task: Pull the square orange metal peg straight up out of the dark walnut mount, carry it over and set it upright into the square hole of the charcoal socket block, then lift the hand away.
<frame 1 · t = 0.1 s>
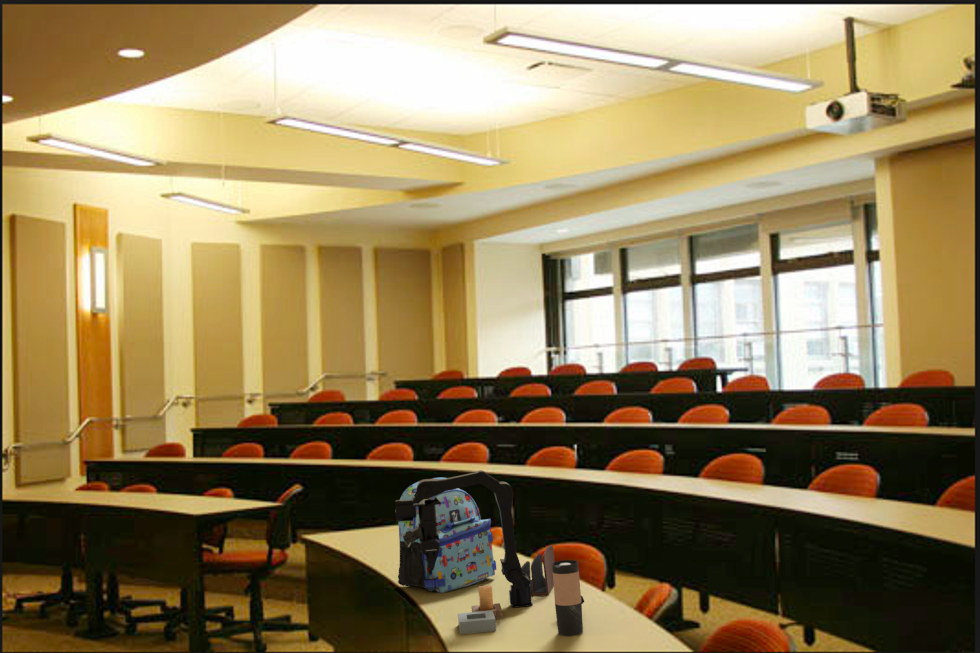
hand: (431, 567, 325), 15 cm above the table, fingers open, 9 cm apart
travel mug: (570, 633, 290), on the table
backpack: (449, 583, 368), on the table
socket: (477, 627, 303), on the table
mount: (487, 615, 316), on the table
letter holder: (538, 590, 348), on the table
controller: (573, 620, 304), on the table
peg: (487, 616, 316), resting in mount
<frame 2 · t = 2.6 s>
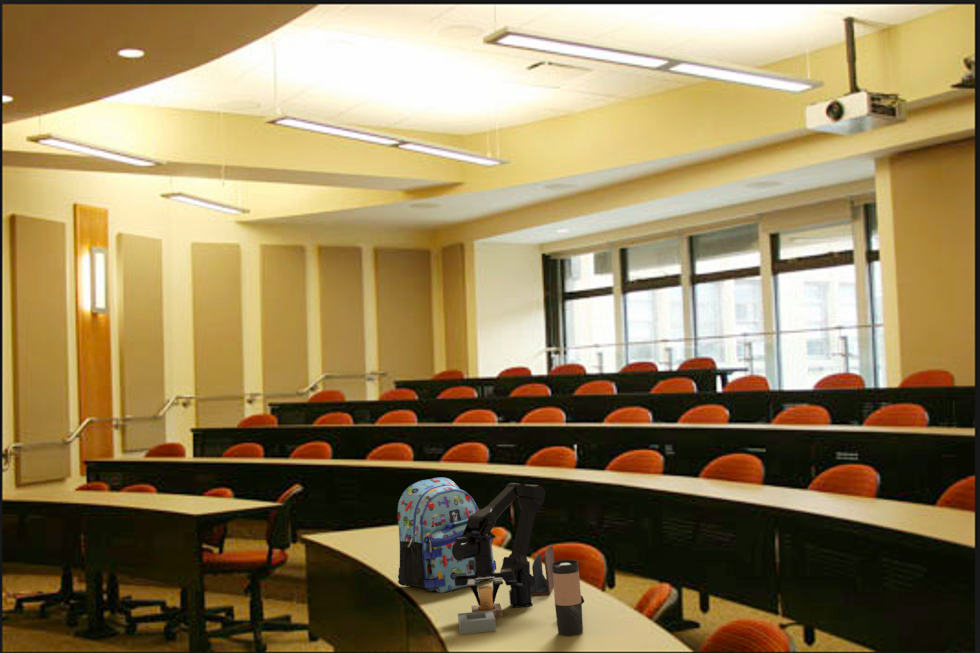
hand: (486, 604, 316), 4 cm above the table, fingers closed on peg, 4 cm apart
peg: (487, 616, 316), resting in mount, touching gripper
everything else where it was.
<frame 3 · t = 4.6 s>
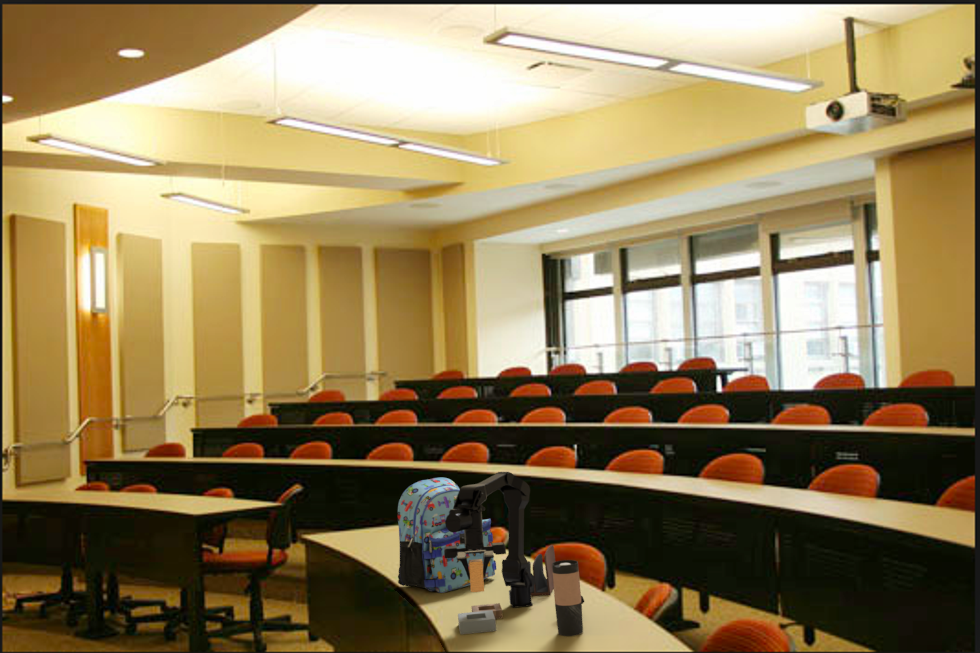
hand: (476, 578, 308), 14 cm above the table, fingers closed on peg, 4 cm apart
peg: (477, 590, 308), point 10 cm above the table, touching gripper
everything else where it was.
when the fingers open (4 cm above the table, at t = 7.0 s): peg stays where it is, resting in socket.
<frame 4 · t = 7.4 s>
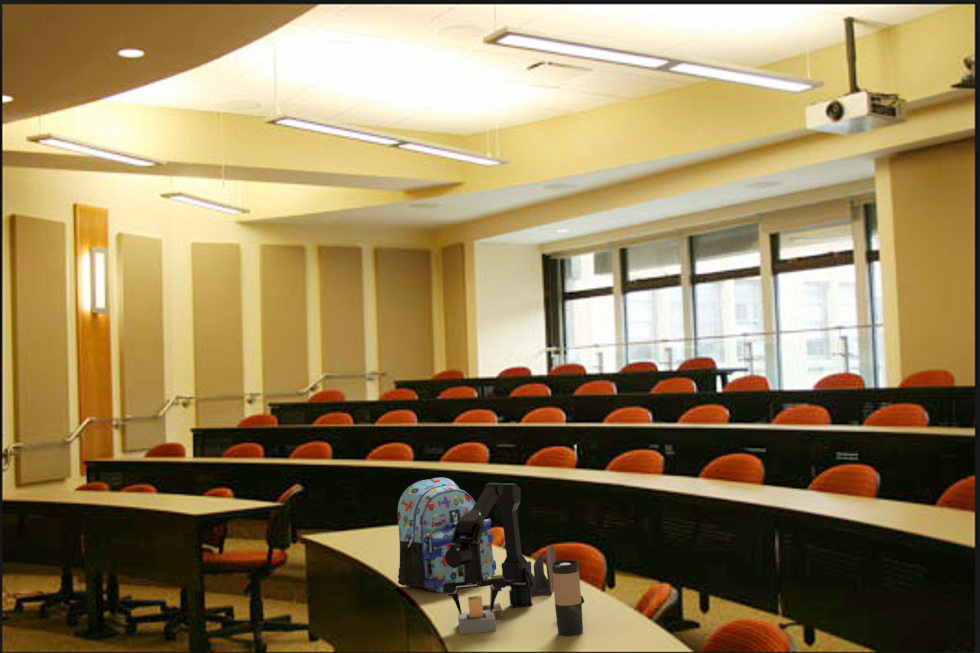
hand: (476, 612, 303), 4 cm above the table, fingers open, 9 cm apart
peg: (477, 628, 303), resting in socket
everything else where it was.
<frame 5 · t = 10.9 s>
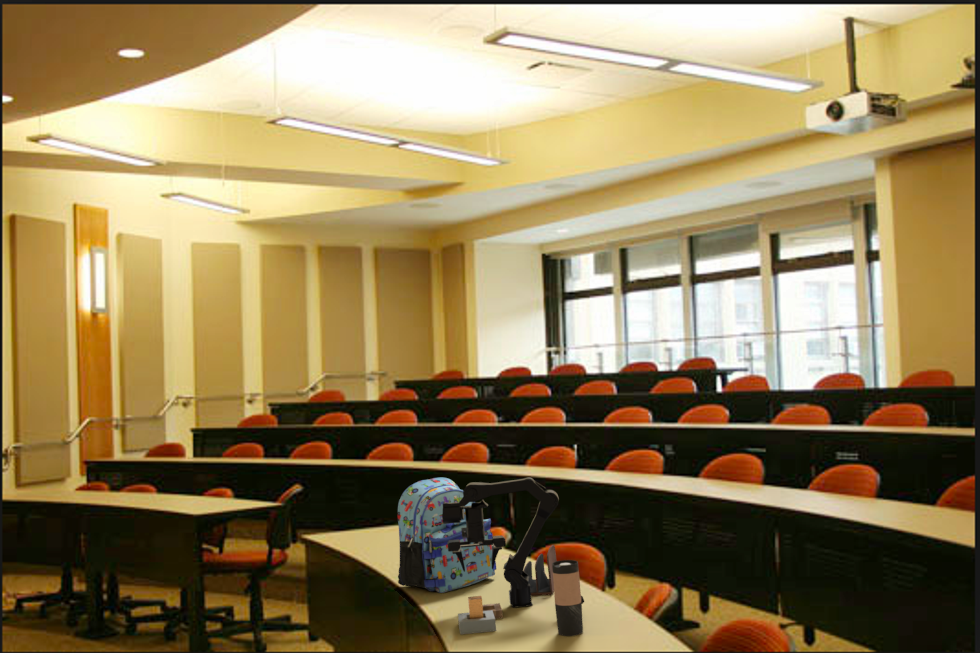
hand: (478, 570, 329), 12 cm above the table, fingers open, 9 cm apart
nothing on the table moved.
at the end: peg 0.0 cm off-centre on the socket, point 0.0 cm above the socket's base; peg tilted 0°; the gripper is holding nothing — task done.
